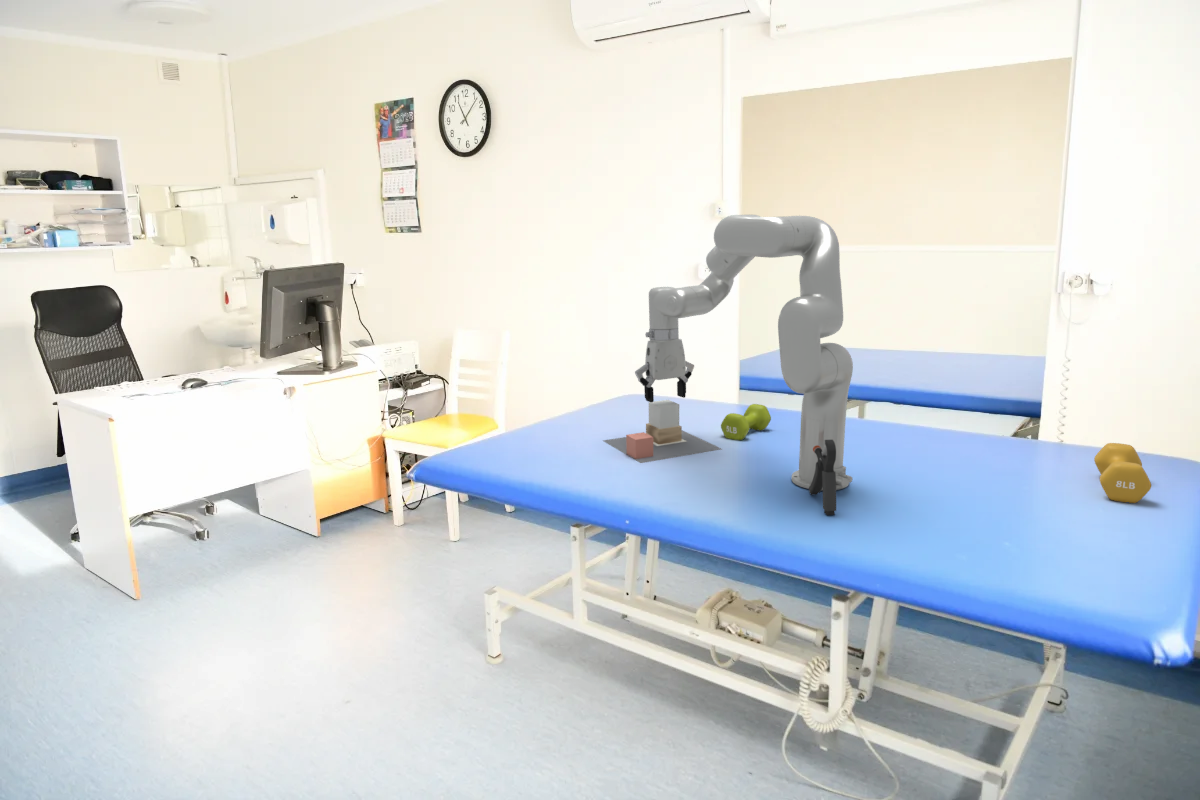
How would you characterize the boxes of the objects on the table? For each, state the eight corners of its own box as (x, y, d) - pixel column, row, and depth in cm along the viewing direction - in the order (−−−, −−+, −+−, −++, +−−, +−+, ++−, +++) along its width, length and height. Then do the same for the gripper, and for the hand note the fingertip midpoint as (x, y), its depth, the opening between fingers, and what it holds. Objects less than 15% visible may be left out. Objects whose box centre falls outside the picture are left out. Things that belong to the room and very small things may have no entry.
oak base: (681, 440, 207) (681, 426, 206) (658, 444, 205) (658, 429, 204) (668, 434, 214) (668, 420, 213) (646, 437, 211) (645, 423, 210)
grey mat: (723, 450, 200) (723, 449, 199) (640, 464, 190) (640, 463, 190) (679, 430, 219) (679, 428, 219) (602, 442, 209) (602, 440, 209)
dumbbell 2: (1091, 473, 178) (1096, 439, 176) (1138, 479, 174) (1144, 444, 172) (1096, 500, 162) (1102, 463, 160) (1149, 507, 158) (1155, 469, 156)
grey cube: (679, 426, 207) (679, 404, 205) (659, 429, 204) (659, 407, 203) (668, 421, 212) (668, 399, 211) (648, 423, 210) (648, 402, 208)
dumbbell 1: (743, 444, 205) (744, 417, 204) (717, 439, 210) (718, 413, 209) (773, 430, 218) (774, 405, 216) (747, 425, 223) (748, 401, 221)
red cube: (653, 456, 195) (653, 437, 194) (635, 459, 193) (635, 439, 192) (643, 450, 199) (643, 432, 198) (626, 453, 197) (626, 434, 196)
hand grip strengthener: (817, 494, 168) (820, 427, 165) (836, 516, 156) (840, 444, 153) (807, 494, 168) (810, 427, 165) (825, 516, 156) (829, 445, 153)
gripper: (641, 339, 195) (643, 405, 199) (700, 333, 202) (701, 397, 206) (628, 336, 202) (630, 400, 206) (685, 330, 209) (686, 392, 213)
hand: (665, 399), depth 206 cm, fingers open, 9 cm apart
